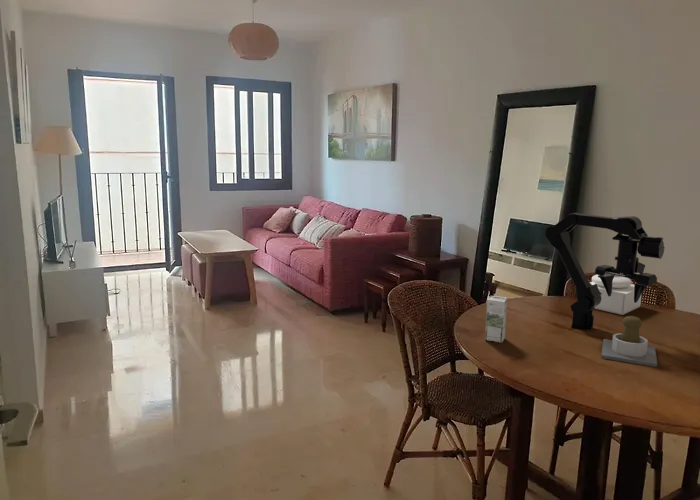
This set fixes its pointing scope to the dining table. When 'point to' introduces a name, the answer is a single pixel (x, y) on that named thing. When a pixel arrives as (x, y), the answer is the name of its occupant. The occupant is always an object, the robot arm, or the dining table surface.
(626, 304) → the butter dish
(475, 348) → the dining table surface
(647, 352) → the cup stand
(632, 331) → the cork
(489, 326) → the syrup box
